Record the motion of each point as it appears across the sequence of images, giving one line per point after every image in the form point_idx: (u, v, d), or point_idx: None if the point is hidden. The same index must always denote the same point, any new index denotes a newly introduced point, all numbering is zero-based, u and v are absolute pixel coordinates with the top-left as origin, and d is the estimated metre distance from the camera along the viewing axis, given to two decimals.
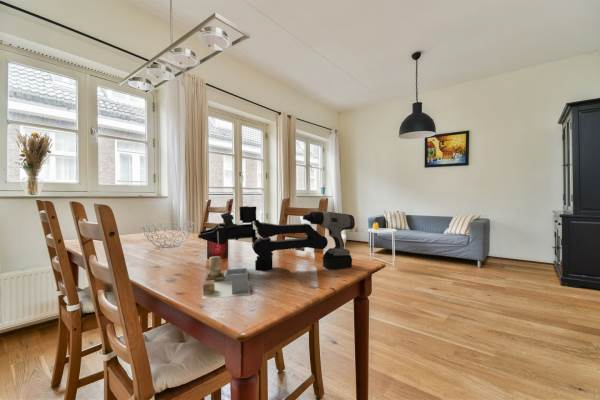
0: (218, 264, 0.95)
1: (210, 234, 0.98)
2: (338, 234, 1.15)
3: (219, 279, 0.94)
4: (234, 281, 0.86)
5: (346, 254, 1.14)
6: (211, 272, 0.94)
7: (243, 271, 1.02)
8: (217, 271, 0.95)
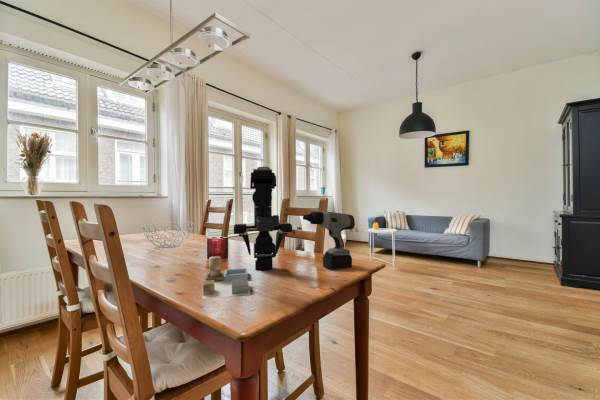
0: (218, 264, 0.95)
1: None
2: (338, 234, 1.15)
3: (219, 279, 0.94)
4: (234, 281, 0.86)
5: (346, 254, 1.14)
6: (211, 272, 0.94)
7: (243, 271, 1.02)
8: (216, 271, 0.95)
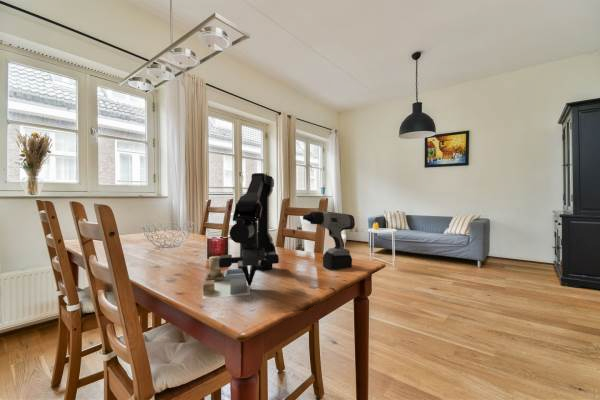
0: (218, 264, 0.95)
1: None
2: (338, 234, 1.15)
3: (219, 279, 0.94)
4: (232, 281, 0.86)
5: (346, 254, 1.14)
6: (211, 272, 0.94)
7: None
8: (216, 271, 0.95)
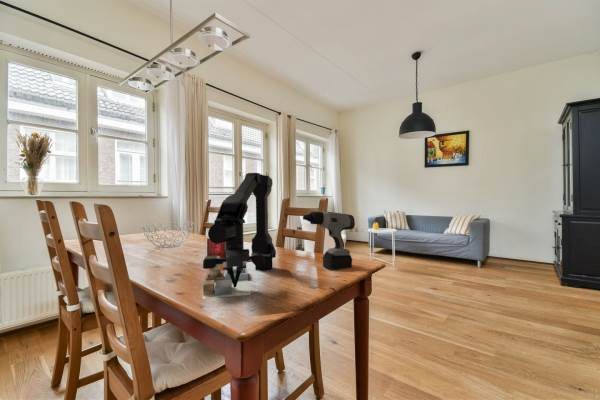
0: (217, 264, 0.95)
1: None
2: (338, 234, 1.15)
3: (219, 279, 0.94)
4: (218, 282, 0.84)
5: (346, 254, 1.14)
6: (210, 272, 0.94)
7: (243, 271, 1.02)
8: (216, 271, 0.94)
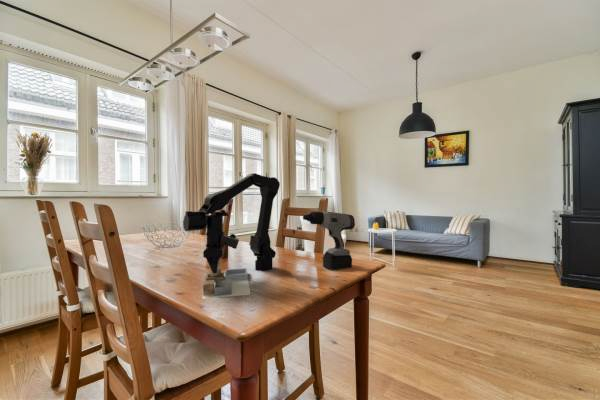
0: None
1: None
2: (338, 234, 1.15)
3: (219, 279, 0.94)
4: (218, 282, 0.84)
5: (346, 254, 1.14)
6: (210, 272, 0.95)
7: (243, 271, 1.02)
8: None
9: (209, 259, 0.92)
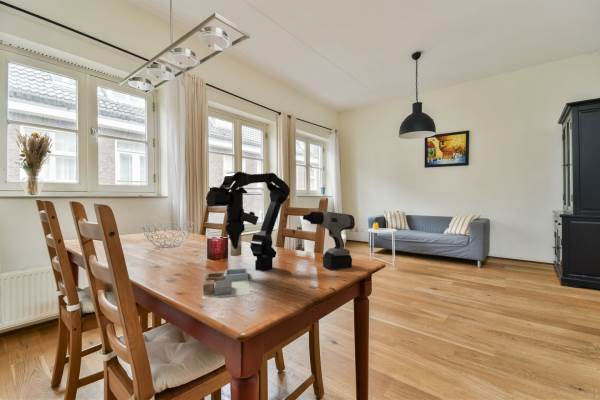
0: None
1: None
2: (338, 234, 1.15)
3: (219, 279, 0.94)
4: (218, 282, 0.84)
5: (346, 254, 1.14)
6: (231, 247, 0.97)
7: (243, 271, 1.02)
8: None
9: (230, 234, 0.94)
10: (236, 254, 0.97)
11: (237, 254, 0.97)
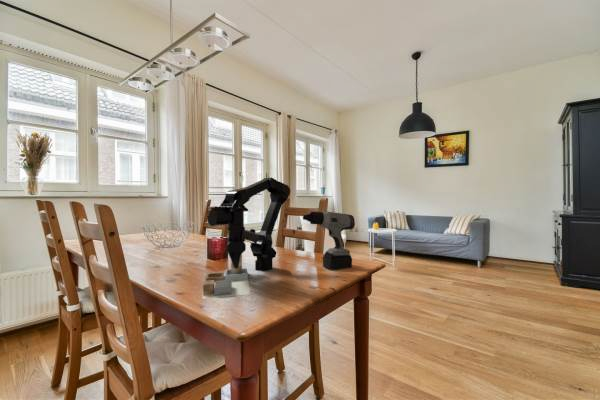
0: None
1: None
2: (338, 234, 1.15)
3: (219, 279, 0.94)
4: (218, 282, 0.84)
5: (346, 254, 1.14)
6: (232, 268, 0.97)
7: (243, 271, 1.02)
8: (237, 268, 0.97)
9: (231, 254, 0.92)
10: None
11: None
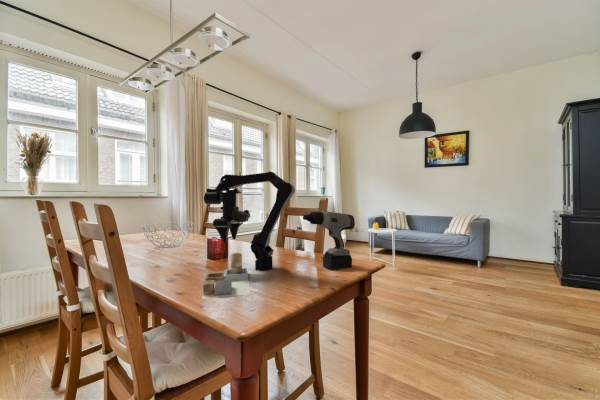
0: (238, 261, 0.97)
1: None
2: (338, 234, 1.15)
3: (219, 279, 0.94)
4: (218, 282, 0.84)
5: (346, 254, 1.14)
6: (232, 268, 0.97)
7: (243, 271, 1.02)
8: (237, 268, 0.97)
9: (219, 230, 1.06)
10: None
11: None
